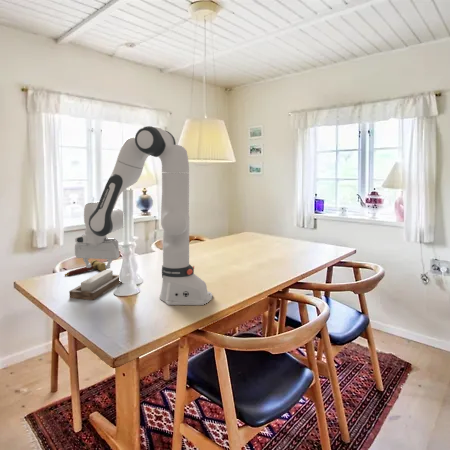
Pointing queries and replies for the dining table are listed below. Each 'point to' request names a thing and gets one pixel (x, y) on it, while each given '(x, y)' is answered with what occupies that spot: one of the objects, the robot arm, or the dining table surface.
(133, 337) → the dining table surface
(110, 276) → the clay strip
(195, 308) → the dining table surface
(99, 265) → the gavel
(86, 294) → the brown wooden tray
